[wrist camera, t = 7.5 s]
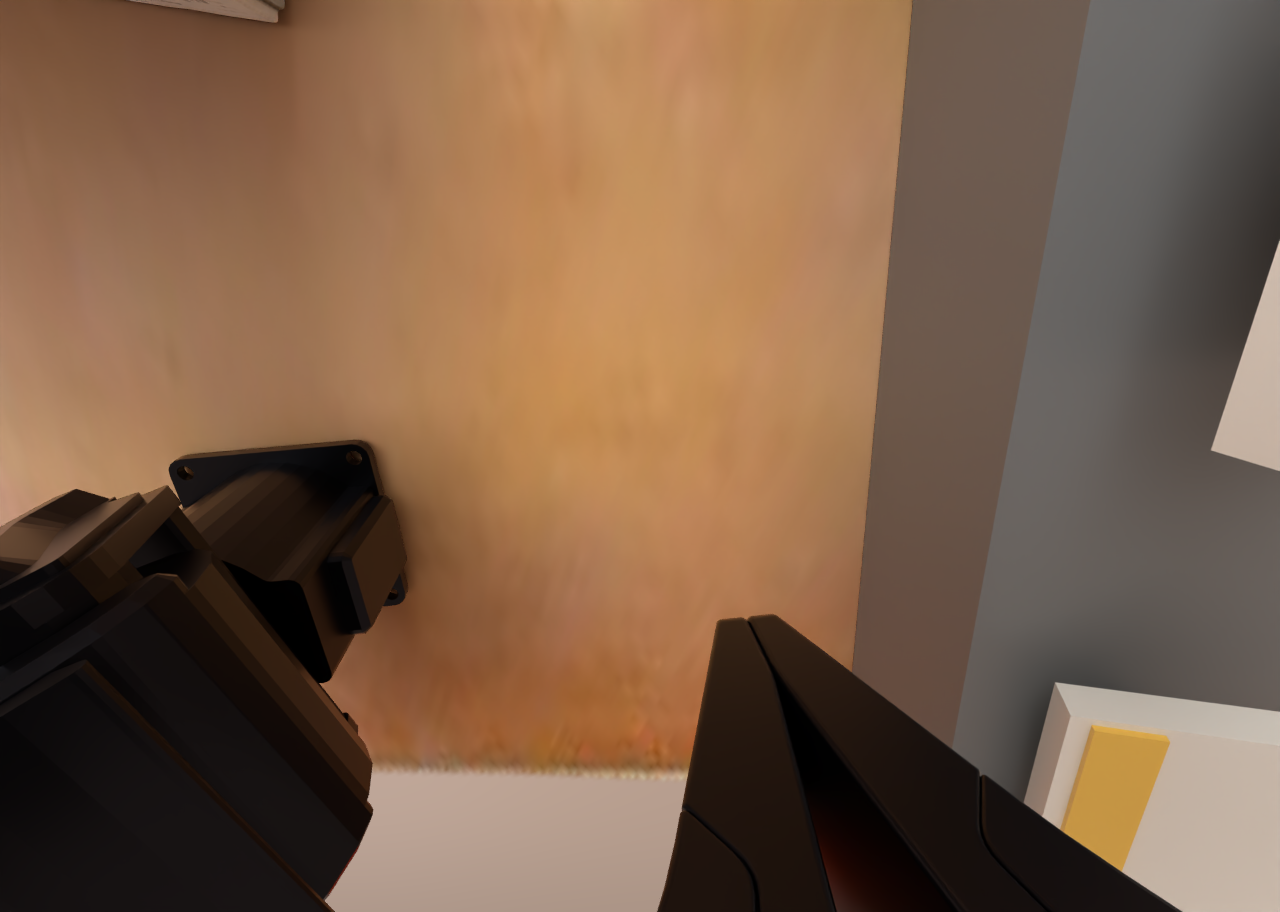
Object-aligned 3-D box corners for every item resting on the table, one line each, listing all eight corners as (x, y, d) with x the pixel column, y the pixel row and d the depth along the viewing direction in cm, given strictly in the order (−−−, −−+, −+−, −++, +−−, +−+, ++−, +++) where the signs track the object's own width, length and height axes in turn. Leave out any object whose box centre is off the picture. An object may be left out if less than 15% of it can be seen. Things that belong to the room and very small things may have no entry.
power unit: (845, 746, 28) (954, 972, 20) (918, -56, 16) (1257, -331, 8) (1091, 717, 28) (1298, 925, 20) (1329, -79, 17) (2043, -356, 9)
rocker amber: (996, 908, 20) (1006, 955, 19) (1055, 682, 16) (1073, 721, 15) (1333, 985, 18) (1371, 1044, 17) (1496, 740, 14) (1560, 792, 13)
